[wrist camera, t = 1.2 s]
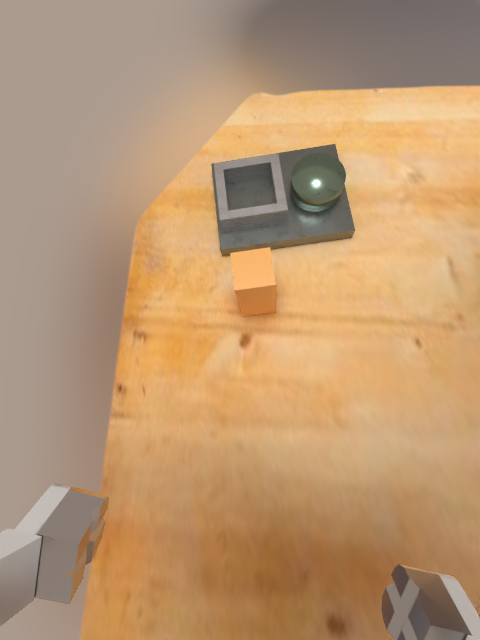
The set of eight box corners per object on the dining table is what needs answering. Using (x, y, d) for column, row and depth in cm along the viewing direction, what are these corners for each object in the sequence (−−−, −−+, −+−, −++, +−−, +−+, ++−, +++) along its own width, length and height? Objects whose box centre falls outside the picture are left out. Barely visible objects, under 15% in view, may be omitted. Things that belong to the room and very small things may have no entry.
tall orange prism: (271, 281, 48) (270, 247, 38) (275, 312, 46) (275, 284, 37) (239, 286, 48) (230, 252, 38) (242, 316, 47) (234, 290, 37)
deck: (332, 154, 52) (338, 127, 47) (351, 237, 48) (360, 217, 43) (213, 173, 53) (207, 148, 48) (222, 256, 49) (217, 238, 44)
